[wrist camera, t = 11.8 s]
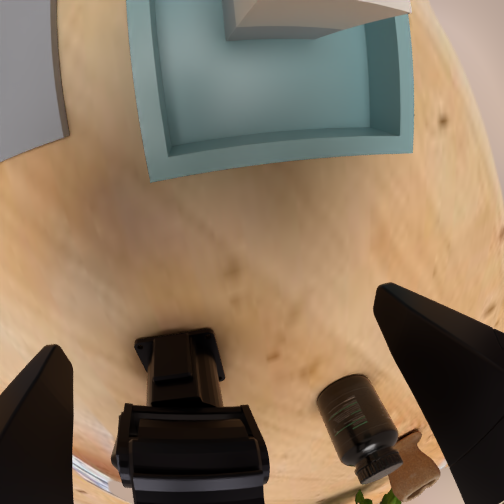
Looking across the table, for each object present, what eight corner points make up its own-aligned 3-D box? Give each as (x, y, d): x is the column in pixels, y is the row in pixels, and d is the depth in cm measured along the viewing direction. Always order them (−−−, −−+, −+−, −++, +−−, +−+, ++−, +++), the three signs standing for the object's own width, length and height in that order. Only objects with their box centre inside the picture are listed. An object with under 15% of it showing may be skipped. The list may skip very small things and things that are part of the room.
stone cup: (419, 421, 48) (450, 475, 35) (418, 435, 54) (444, 481, 42) (354, 457, 49) (380, 514, 36) (362, 466, 55) (384, 514, 43)
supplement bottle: (372, 387, 34) (414, 461, 24) (326, 413, 35) (359, 490, 24) (361, 365, 30) (410, 452, 20) (307, 395, 31) (344, 487, 21)
